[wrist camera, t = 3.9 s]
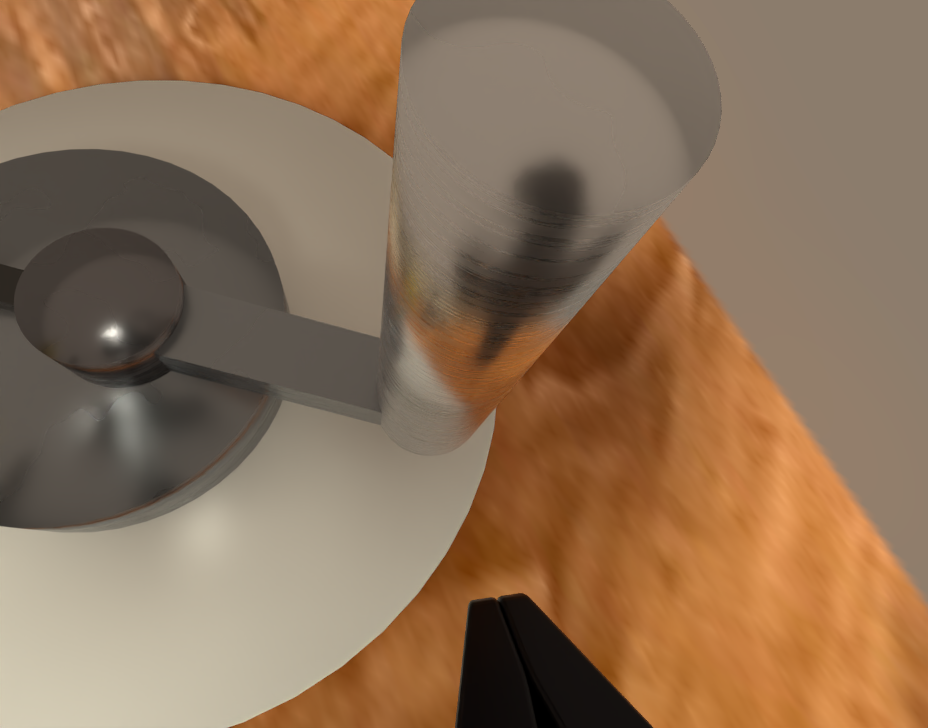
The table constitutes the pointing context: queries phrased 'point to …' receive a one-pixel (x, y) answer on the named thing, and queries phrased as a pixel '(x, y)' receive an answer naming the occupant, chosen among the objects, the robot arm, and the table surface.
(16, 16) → the table surface
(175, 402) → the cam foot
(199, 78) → the table surface
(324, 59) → the table surface
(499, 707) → the robot arm
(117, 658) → the stand
